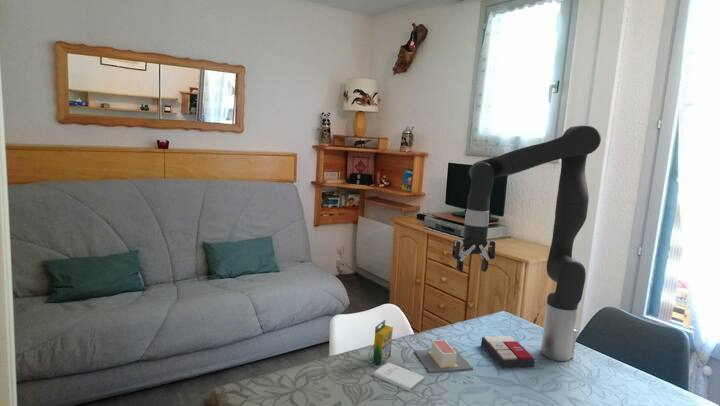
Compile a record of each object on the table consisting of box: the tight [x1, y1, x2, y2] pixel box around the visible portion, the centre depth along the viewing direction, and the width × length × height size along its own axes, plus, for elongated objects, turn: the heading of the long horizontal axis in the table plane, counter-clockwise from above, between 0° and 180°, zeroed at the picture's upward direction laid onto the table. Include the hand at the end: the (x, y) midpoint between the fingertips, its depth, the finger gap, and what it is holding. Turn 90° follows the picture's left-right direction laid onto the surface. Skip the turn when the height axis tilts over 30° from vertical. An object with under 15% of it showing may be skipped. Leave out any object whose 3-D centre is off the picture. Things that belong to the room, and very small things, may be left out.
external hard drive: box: [372, 362, 426, 392], centre depth 128 cm, size 2×8×12 cm
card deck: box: [430, 339, 457, 366], centre depth 140 cm, size 9×4×4 cm, turn 13°
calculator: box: [480, 335, 535, 369], centre depth 145 cm, size 11×4×15 cm
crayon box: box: [372, 319, 394, 366], centre depth 137 cm, size 7×3×12 cm, turn 152°
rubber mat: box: [414, 347, 474, 374], centre depth 140 cm, size 14×13×1 cm
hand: (471, 271), depth 148 cm, fingers open, 8 cm apart
